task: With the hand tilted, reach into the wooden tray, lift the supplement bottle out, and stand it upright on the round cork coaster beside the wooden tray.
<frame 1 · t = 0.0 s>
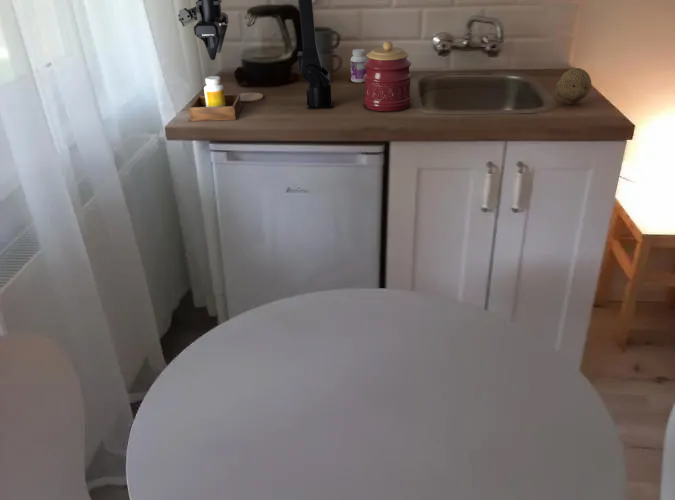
hand: (215, 56, 173), 15 cm above the table, tool pointing down, fingers open, 9 cm apart
wooden tray: (216, 113, 175), on the table
natural sponge: (570, 105, 174), on the table
kitchen canister: (387, 106, 178), on the table
coaster: (248, 98, 188), on the table
supplement bottle: (216, 112, 175), resting on wooden tray
pill bottle: (359, 81, 203), on the table
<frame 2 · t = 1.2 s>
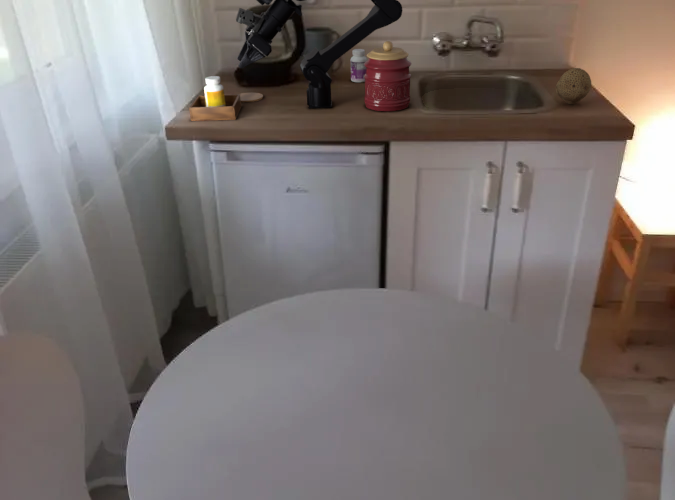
hand: (239, 63, 170), 13 cm above the table, tool tilted 45°, fingers open, 9 cm apart
nothing on the table moved.
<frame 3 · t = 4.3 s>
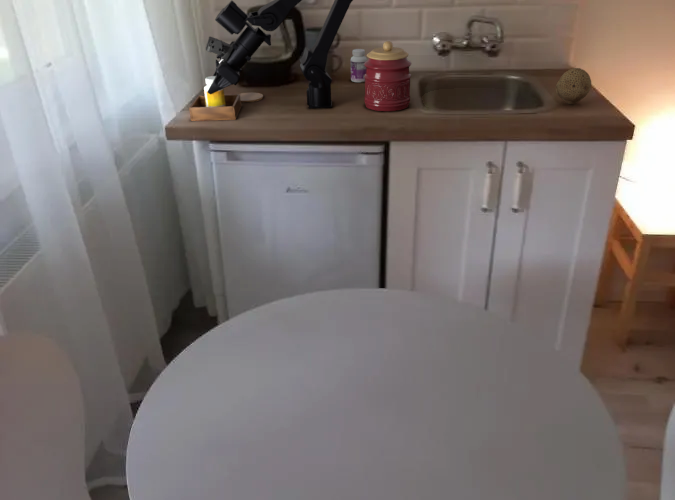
hand: (208, 90, 172), 7 cm above the table, tool tilted 45°, fingers closed on supplement bottle, 5 cm apart
supplement bottle: (216, 112, 175), resting on wooden tray, touching gripper
everything else where it was.
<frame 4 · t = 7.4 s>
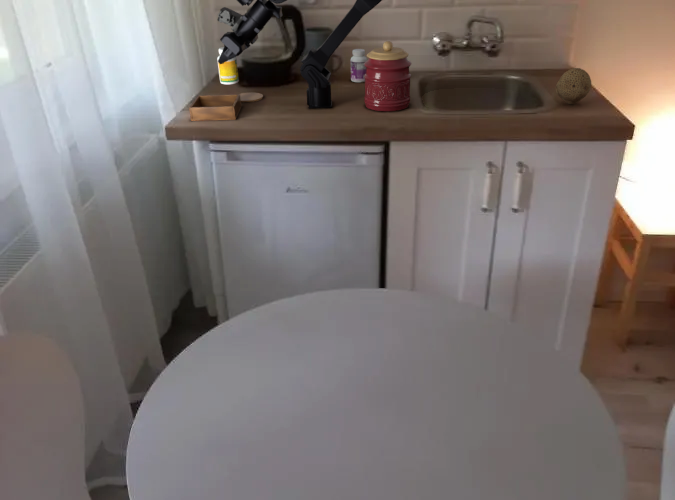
hand: (222, 60, 176), 13 cm above the table, tool tilted 45°, fingers closed on supplement bottle, 5 cm apart
supplement bottle: (229, 83, 179), point 6 cm above the table, touching gripper
everything else where it was.
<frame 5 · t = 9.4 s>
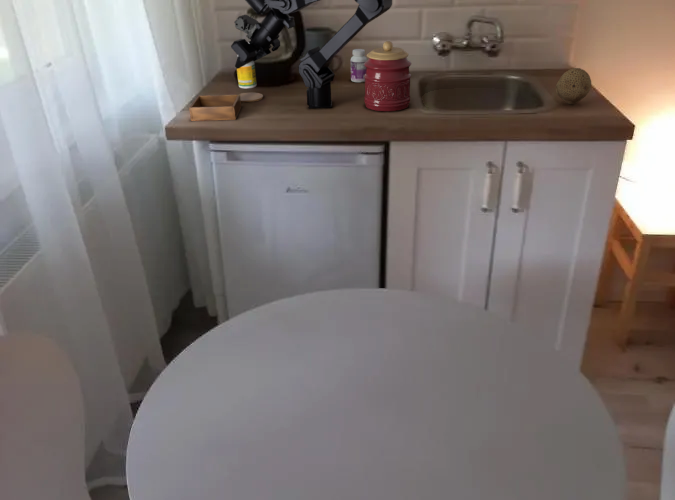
hand: (241, 65, 184), 10 cm above the table, tool tilted 45°, fingers closed on supplement bottle, 5 cm apart
supplement bottle: (247, 87, 187), point 3 cm above the table, touching gripper
everything else where it was.
when the fingers open (7 cm above the table, at t = 10.7 s): supplement bottle stays where it is, resting on coaster.
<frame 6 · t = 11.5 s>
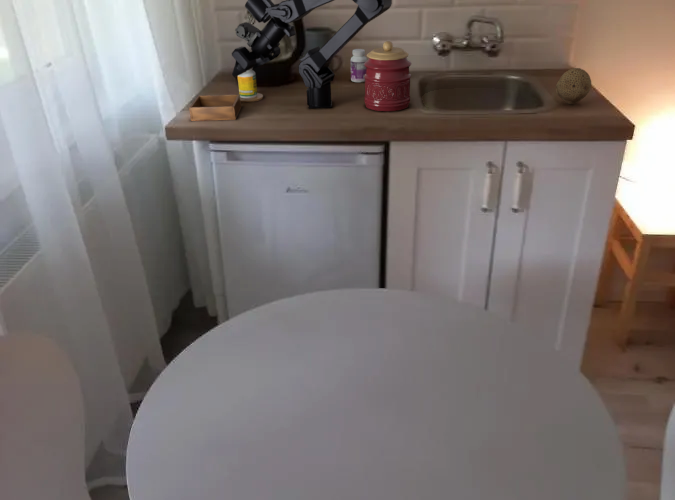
hand: (241, 72, 185), 8 cm above the table, tool tilted 45°, fingers open, 9 cm apart
supplement bottle: (248, 97, 188), resting on coaster
everything else where it was.
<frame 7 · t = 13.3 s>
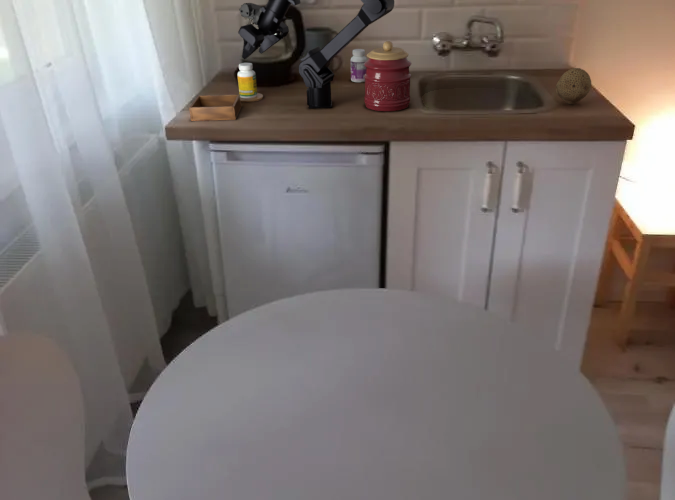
hand: (252, 55, 180), 13 cm above the table, tool tilted 35°, fingers open, 9 cm apart
nothing on the table moved.
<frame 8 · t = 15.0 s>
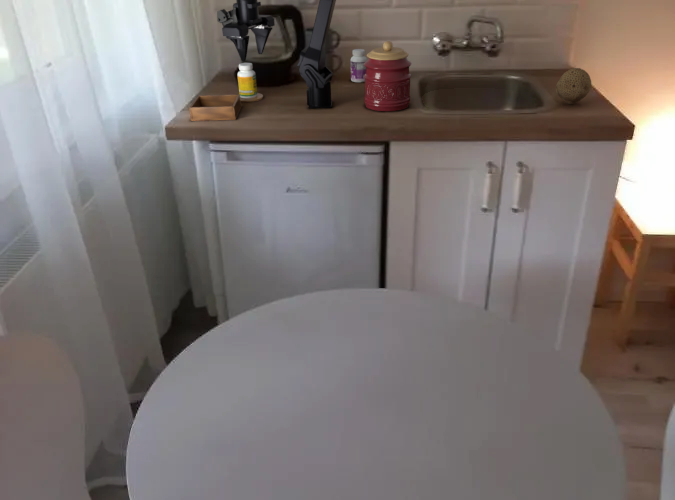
hand: (252, 57, 178), 13 cm above the table, tool pointing down, fingers open, 9 cm apart
nothing on the table moved.
at the end: supplement bottle 0.2 cm off-centre on the coaster, point 0.3 cm above the coaster's base; supplement bottle tilted 0°; the gripper is holding nothing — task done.
